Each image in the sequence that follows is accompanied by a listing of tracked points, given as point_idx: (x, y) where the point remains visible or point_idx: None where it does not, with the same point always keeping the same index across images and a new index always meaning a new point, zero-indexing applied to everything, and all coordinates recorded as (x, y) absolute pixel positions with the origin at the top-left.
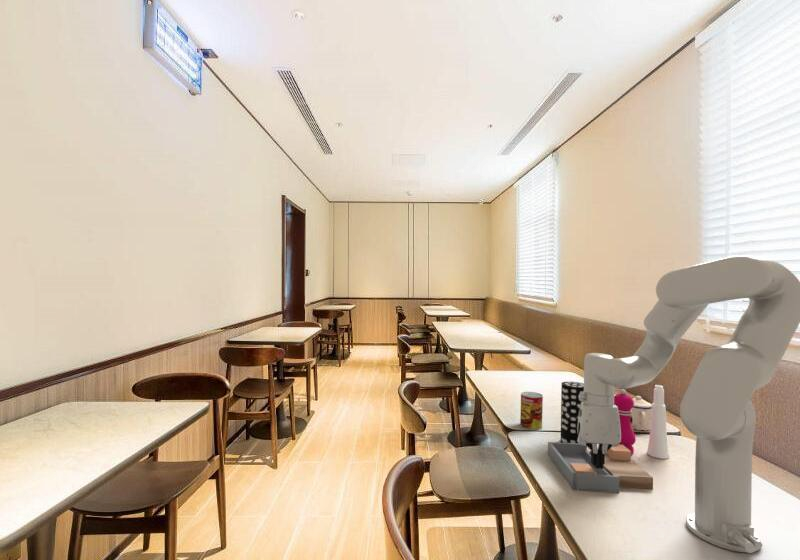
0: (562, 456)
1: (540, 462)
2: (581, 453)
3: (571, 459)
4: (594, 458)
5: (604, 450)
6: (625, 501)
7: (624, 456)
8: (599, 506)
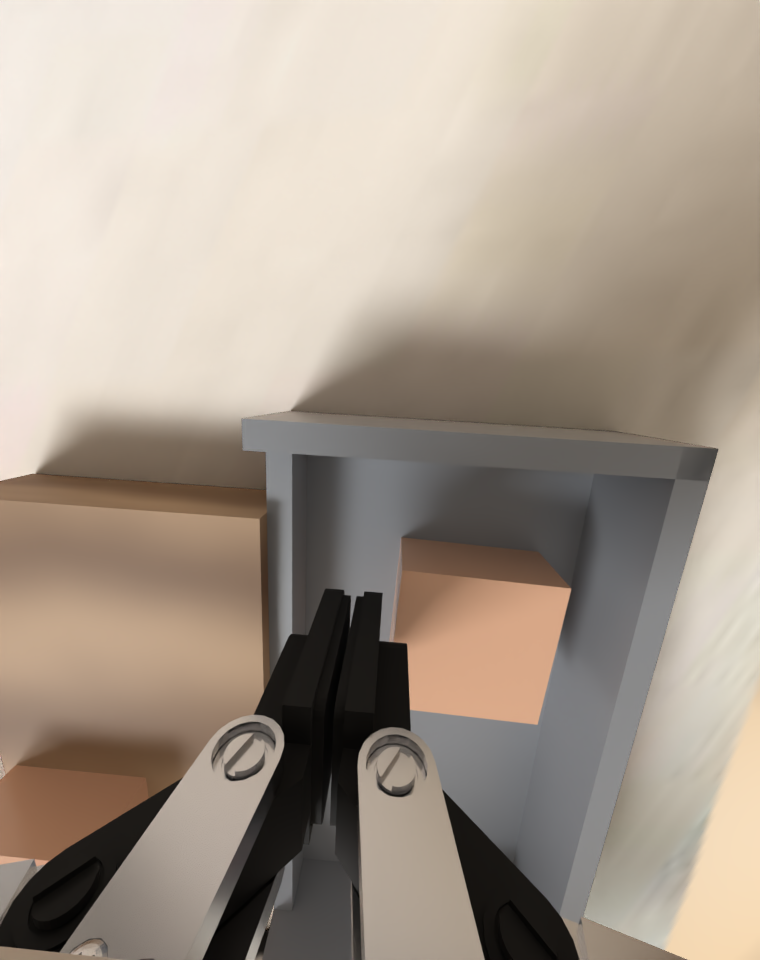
0: None
1: (626, 792)
2: (315, 876)
3: None
4: (395, 683)
5: (230, 781)
6: (302, 283)
7: (37, 799)
8: (549, 184)
